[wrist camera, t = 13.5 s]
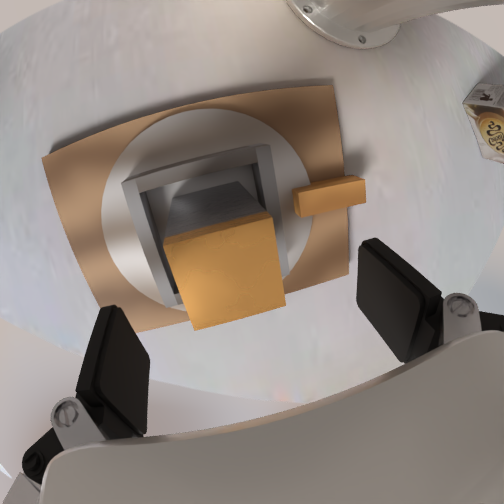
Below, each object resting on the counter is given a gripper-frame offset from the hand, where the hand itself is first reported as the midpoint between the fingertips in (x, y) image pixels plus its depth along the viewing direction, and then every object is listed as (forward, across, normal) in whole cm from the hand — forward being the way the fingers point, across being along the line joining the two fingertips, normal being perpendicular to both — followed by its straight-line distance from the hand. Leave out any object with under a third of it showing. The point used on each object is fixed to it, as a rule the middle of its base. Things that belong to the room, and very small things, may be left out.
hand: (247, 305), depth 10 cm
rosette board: (+14, +1, +1) cm, 14 cm away
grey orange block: (+12, +1, +1) cm, 12 cm away
